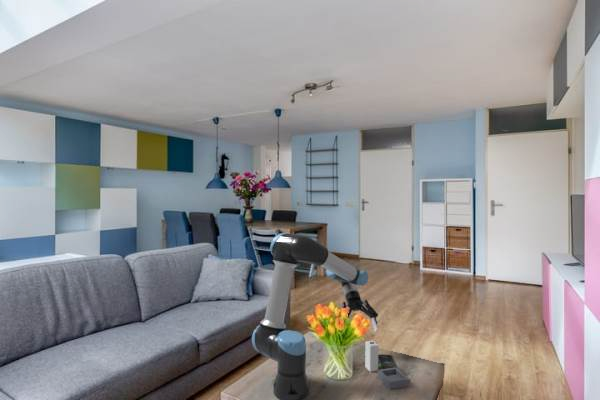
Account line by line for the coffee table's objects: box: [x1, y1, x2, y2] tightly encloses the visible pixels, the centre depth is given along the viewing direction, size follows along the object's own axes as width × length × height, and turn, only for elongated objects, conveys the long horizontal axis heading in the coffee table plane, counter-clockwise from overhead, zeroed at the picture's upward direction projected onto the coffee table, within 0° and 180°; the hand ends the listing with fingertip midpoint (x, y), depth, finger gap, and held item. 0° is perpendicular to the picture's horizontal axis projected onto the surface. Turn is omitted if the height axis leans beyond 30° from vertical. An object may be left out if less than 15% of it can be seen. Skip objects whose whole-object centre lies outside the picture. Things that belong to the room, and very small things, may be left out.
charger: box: [364, 340, 379, 373], centre depth 166 cm, size 4×5×13 cm
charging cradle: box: [377, 367, 410, 390], centre depth 155 cm, size 9×10×3 cm
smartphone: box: [378, 354, 398, 370], centre depth 172 cm, size 8×1×15 cm
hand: (364, 332), depth 175 cm, fingers open, 13 cm apart
